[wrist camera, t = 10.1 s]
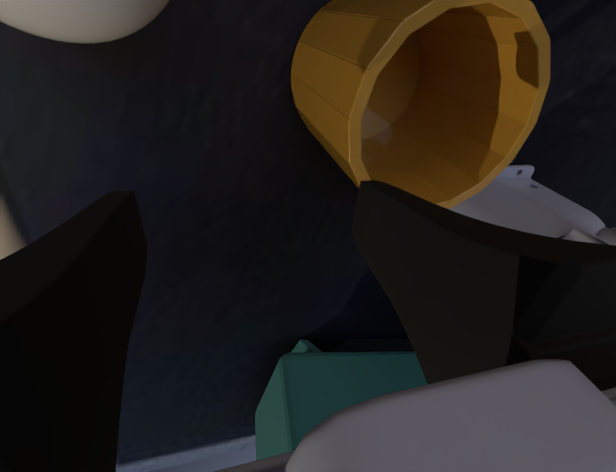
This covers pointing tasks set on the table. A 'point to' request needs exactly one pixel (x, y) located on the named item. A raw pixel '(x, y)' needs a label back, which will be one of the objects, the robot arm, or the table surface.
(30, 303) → the robot arm
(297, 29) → the table surface
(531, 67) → the mug
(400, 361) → the radio
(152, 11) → the lightbulb
